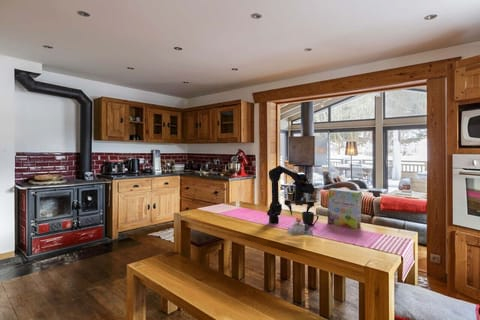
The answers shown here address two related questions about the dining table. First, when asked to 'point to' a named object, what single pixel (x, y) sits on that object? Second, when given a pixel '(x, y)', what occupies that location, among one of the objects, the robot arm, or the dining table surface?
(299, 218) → the plunger
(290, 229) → the slate board
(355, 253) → the dining table surface
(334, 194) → the snack box
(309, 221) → the mug
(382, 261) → the dining table surface
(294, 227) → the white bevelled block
